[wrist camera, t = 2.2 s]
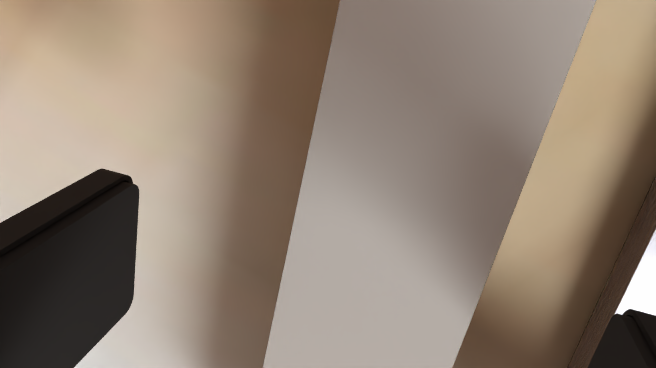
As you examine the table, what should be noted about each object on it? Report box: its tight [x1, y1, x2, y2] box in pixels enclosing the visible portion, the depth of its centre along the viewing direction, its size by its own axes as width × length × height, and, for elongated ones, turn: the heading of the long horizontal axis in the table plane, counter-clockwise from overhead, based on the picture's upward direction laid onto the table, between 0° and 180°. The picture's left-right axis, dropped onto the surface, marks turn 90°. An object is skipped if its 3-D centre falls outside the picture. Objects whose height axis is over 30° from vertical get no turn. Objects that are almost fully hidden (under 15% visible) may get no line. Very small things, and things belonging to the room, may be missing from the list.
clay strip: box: [263, 0, 596, 368], centre depth 13 cm, size 4×22×5 cm, turn 168°
